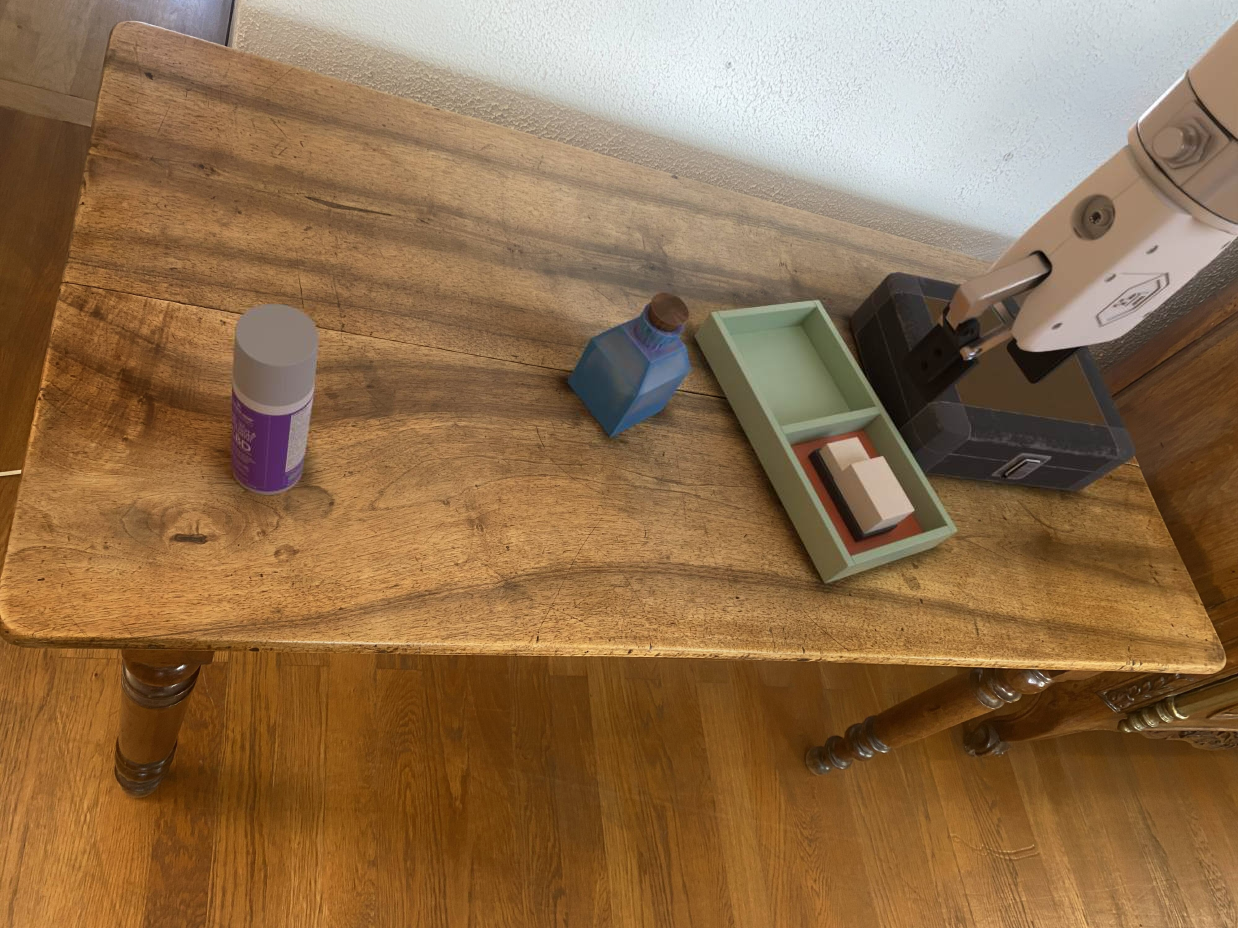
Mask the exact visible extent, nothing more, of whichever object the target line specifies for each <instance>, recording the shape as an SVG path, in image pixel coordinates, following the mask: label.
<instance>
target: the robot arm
mask: <svg viewBox="0 0 1238 928" xmlns="http://www.w3.org/2000/svg"><path fill="white" fill-rule="evenodd" d="M1126 138H1127V143H1128V144H1126V145H1124V146H1123V147H1122V148H1120V149H1119V150H1117V152H1116V153H1114V154H1113V155H1112V156H1111V157H1109V158H1108V159H1107V160H1106V161H1104V162H1103V163H1101V165H1100V166H1098V167H1097V168H1096V169H1095V170H1093V171H1092V172H1091V173H1090V174H1089V175H1088V176H1086V177H1085V178H1084V179H1083V180H1081V181H1080V182H1079V183H1078V184H1077V185H1076V186H1075V187H1074V188H1072V189H1071V190H1070V191H1069V192H1068V193H1067V194H1065V195H1064V196H1063V197H1062V198H1061V199H1059V201H1058V202H1056V203H1055V204H1054V205H1053V206H1052V207H1051V208H1049V210H1048V211H1047V212H1045V213H1044V214H1043V215H1042V216H1041V217H1040V218H1039V219H1038V220H1037V221H1036V222H1034V223H1033V224H1032V225H1031V226H1030V227H1029V228H1028V229H1027V230H1025V232H1024V233H1023V234H1021V236H1019V238H1017V239H1016V241H1014V242H1013V244H1012V245H1011V246H1009V247H1008V248H1007V249H1006V251H1004V252H1003V253H1002V254H1001V255H1000V257H998V259H997V260H996V261H995V262H994V263H993V264H992V265H991V267H990V268H989V269H988V270H987V271H986V273H985V274H982V275H979V276H976V277H975V278H972V279H968V280H967V281H965V282H964V283H962V284H960V285H961V286H960V287H959V288H958V289H957V291H956V293H955V295H954V297H953V299H952V301H950V302H949V303H948V306H946V308H945V309H944V310H943V312H942V313H943V314H942V315H941V316H940V317H939V319H938V322H939V323H938V324H937V325H936V326H935V327H934V328H933V329H932V330H931V331H930V332H929V333H928V334H927V335H926V336H925V337H924V338H923V339H922V340H921V341H920V342H919V343H918V344H917V345H916V346H915V347H914V348H913V349H912V350H911V351H910V352H909V353H908V354H907V355H906V356H905V357H904V358H903V360H902V365H903V367H904V369H905V370H906V372H907V373H908V375H909V376H910V378H911V380H912V381H913V383H914V384H915V386H916V388H917V389H918V391H919V392H920V394H921V396H922V397H923V399H924V400H925V401H926V402H928V403H929V402H935V401H937V400H939V399H940V398H941V397H942V396H943V395H944V394H945V393H947V392H948V391H949V390H950V389H951V388H952V387H953V386H954V385H956V384H957V383H958V382H959V381H960V380H961V379H962V378H963V377H964V376H966V375H967V374H968V373H969V372H970V371H971V370H972V369H973V368H975V367H976V366H977V365H978V364H979V363H980V362H979V360H978V359H977V356H978V355H980V354H982V353H984V352H986V351H987V350H989V349H991V348H993V347H994V346H996V345H998V344H1000V343H1001V342H1003V341H1005V340H1007V339H1009V338H1010V337H1012V336H1014V337H1015V338H1013V339H1012V340H1011V341H1010V342H1009V343H1008V344H1007V351H1008V352H1009V354H1010V355H1011V357H1012V358H1013V360H1014V361H1015V363H1016V364H1017V365H1018V367H1019V368H1020V370H1021V371H1022V373H1023V374H1024V376H1025V377H1026V378H1027V380H1028V381H1029V382H1030V383H1032V384H1034V383H1040V382H1042V381H1043V380H1044V379H1045V378H1047V377H1048V376H1049V375H1050V374H1052V373H1053V372H1054V371H1055V370H1057V369H1058V368H1059V367H1060V366H1062V365H1063V364H1064V363H1065V362H1067V361H1068V360H1069V359H1070V358H1072V357H1073V356H1074V355H1075V354H1077V353H1078V352H1079V351H1080V350H1082V349H1083V348H1084V347H1085V345H1087V346H1089V345H1096V344H1097V345H1098V344H1101V343H1107V342H1111V341H1114V340H1116V339H1119V338H1121V337H1122V336H1124V335H1126V334H1127V333H1129V332H1130V331H1131V330H1132V329H1134V328H1135V327H1136V326H1137V325H1139V324H1140V323H1141V322H1142V321H1144V320H1145V319H1146V318H1147V317H1148V316H1149V315H1151V314H1152V313H1153V312H1154V311H1155V310H1157V309H1158V308H1159V307H1160V306H1161V305H1163V303H1165V302H1166V301H1167V300H1168V299H1169V298H1171V297H1172V296H1173V295H1174V294H1175V293H1176V292H1177V291H1179V290H1180V289H1182V288H1183V287H1184V286H1185V285H1186V284H1188V282H1190V280H1192V279H1193V278H1194V277H1195V276H1196V275H1197V274H1199V273H1200V272H1201V271H1202V270H1204V269H1205V268H1206V267H1207V266H1208V265H1209V264H1211V262H1212V261H1213V260H1215V259H1216V258H1217V257H1218V256H1219V255H1220V254H1222V252H1223V251H1224V250H1225V249H1226V248H1227V247H1228V246H1230V245H1231V243H1232V242H1233V241H1235V240H1236V239H1237V237H1238V19H1237V20H1236V21H1235V22H1234V23H1233V24H1232V25H1231V26H1230V27H1229V28H1228V29H1227V30H1226V31H1225V32H1224V33H1223V34H1222V35H1221V36H1220V37H1219V38H1218V39H1217V40H1216V41H1215V42H1214V43H1213V44H1212V45H1211V46H1210V47H1209V48H1208V49H1207V50H1206V51H1205V52H1204V53H1203V54H1202V55H1201V56H1200V57H1199V58H1198V59H1197V60H1196V61H1195V62H1194V63H1193V65H1192V66H1190V67H1189V68H1188V69H1187V70H1186V71H1185V72H1184V73H1183V74H1182V75H1181V76H1180V77H1179V78H1177V80H1176V81H1175V82H1174V83H1173V84H1171V86H1170V87H1168V89H1167V90H1166V91H1165V92H1164V93H1163V94H1162V95H1161V96H1160V97H1158V99H1157V100H1156V101H1155V102H1154V103H1153V104H1152V105H1151V106H1150V107H1149V108H1148V109H1147V110H1146V111H1145V112H1143V114H1142V115H1141V116H1140V117H1139V118H1137V120H1136V121H1135V122H1134V123H1133V124H1132V125H1131V126H1130V127H1129V128H1128V130H1127V136H1126ZM1010 297H1013V299H1014V300H1015V302H1016V303H1017V304H1018V306H1019V307H1020V311H1019V313H1018V315H1017V317H1016V318H1015V317H1014V316H1013V314H1012V313H1011V311H1010V310H1009V308H1008V307H1007V306H1006V304H1005V303H1004V301H1003V300H1006V299H1008V298H1010ZM987 308H990V310H991V311H992V313H993V314H994V316H995V317H996V318H997V320H998V321H999V323H1000V324H1001V325H999V326H997V327H995V328H994V329H992V330H990V331H988V332H987V333H985V334H983V335H981V336H980V337H979V335H980V323H979V322H978V320H977V318H978V317H979V316H981V315H982V314H983V312H984V311H985V310H986V309H987Z"/></svg>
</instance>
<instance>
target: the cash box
mask: <svg viewBox="0 0 1238 928" xmlns="http://www.w3.org/2000/svg"><path fill="white" fill-rule="evenodd" d="M961 285H962V284H958V283H954V282H948V281H944V280H940V279H935V278H929V277H925V276H921V275H917V274H911V273H906V272H902V271H896V272H891V273H889V274H887V275H886V276H885V278H884V279H883V280H882V281H881V282H880V283H879V284H878V286H877V287H876V288H875V289H874V290H873V291H872V292H871V293H870V294H869V295H868V297H867V298H866V299H865V300H863V302H862V303H861V304H860V306H859V307H858V308H857V309H856V310H855V311H854V312H853V313H852V315H851V321H850V326H851V329H852V332H853V336H854V338H855V342H856V346H857V349H858V353H859V356H860V359H861V363H862V366H863V369H864V372H865V375H866V376H865V377H866V379H867V381H868V382H869V384H870V386H871V387H872V389H873V391H874V392H875V394H876V396H877V397H878V399H879V401H880V402H881V404H882V405H883V407H884V409H885V410H886V412H887V414H888V415H889V417H890V419H891V420H892V422H893V424H894V425H895V427H896V429H897V430H898V432H899V434H900V435H901V437H902V439H903V440H904V442H905V444H906V445H907V447H908V449H909V450H910V452H911V454H912V455H913V457H914V459H915V460H916V462H917V464H918V465H919V467H920V469H921V470H922V472H923V474H924V475H929V476H938V477H948V478H956V479H965V480H973V481H983V482H993V483H1001V484H1011V485H1018V486H1027V487H1028V486H1029V487H1036V488H1037V487H1038V488H1045V489H1055V490H1062V491H1072V492H1077V491H1080V490H1082V489H1084V488H1086V487H1088V486H1090V485H1091V484H1093V483H1094V482H1097V481H1098V480H1099V479H1101V478H1103V477H1105V476H1106V475H1108V474H1110V473H1112V472H1113V471H1114V470H1116V469H1118V468H1119V467H1120V466H1122V465H1124V464H1125V463H1127V462H1129V461H1130V460H1132V459H1133V458H1134V457H1135V456H1136V448H1135V445H1134V442H1133V440H1132V438H1131V436H1130V434H1129V431H1128V430H1127V427H1126V425H1125V422H1124V421H1123V419H1122V417H1121V414H1120V412H1119V410H1118V407H1117V405H1116V404H1115V401H1114V399H1113V397H1112V395H1111V393H1110V391H1109V389H1108V386H1107V385H1106V381H1104V378H1103V375H1102V373H1101V371H1100V370H1099V367H1098V364H1097V362H1096V361H1095V358H1094V357H1093V353H1092V352H1091V350H1090V348H1089V345H1085V347H1084V348H1083V349H1082V350H1080V351H1079V352H1078V353H1077V354H1075V355H1074V356H1073V357H1072V358H1070V359H1069V360H1068V361H1067V362H1065V363H1064V364H1063V365H1062V366H1060V367H1059V368H1058V369H1057V370H1055V371H1054V372H1053V373H1052V374H1050V375H1049V376H1048V377H1047V378H1045V379H1044V380H1043V381H1042V382H1040V383H1034V384H1032V383H1030V382H1029V381H1028V380H1027V378H1026V377H1025V376H1024V374H1023V373H1022V371H1021V370H1020V368H1019V367H1018V365H1017V364H1016V363H1015V361H1014V360H1013V358H1012V357H1011V355H1010V354H1009V352H1008V351H1007V344H1008V343H1009V342H1010V341H1011V340H1012V339H1013V338H1015V337H1014V336H1012V337H1010V338H1009V339H1007V340H1005V341H1003V342H1001V343H1000V344H998V345H996V346H994V347H993V348H991V349H989V350H987V351H986V352H984V353H982V354H980V355H978V356H977V359H978V360H979V362H980V363H979V364H978V365H977V366H976V367H975V368H973V369H972V370H971V371H970V372H969V373H968V374H967V375H966V376H964V377H963V378H962V379H961V380H960V381H959V382H958V383H957V384H956V385H954V386H953V387H952V388H951V389H950V390H949V391H948V392H947V393H945V394H944V395H943V396H942V397H941V398H940V399H939V400H937V401H935V402H929V403H928V402H926V401H925V400H924V399H923V397H922V396H921V394H920V392H919V391H918V389H917V388H916V386H915V384H914V383H913V381H912V380H911V378H910V376H909V375H908V373H907V372H906V370H905V369H904V367H903V365H902V360H903V358H904V357H905V356H906V355H907V354H908V353H909V352H910V351H911V350H912V349H913V348H914V347H915V346H916V345H917V344H918V343H919V342H920V341H921V340H922V339H923V338H924V337H925V336H926V335H927V334H928V333H929V332H930V331H931V330H932V329H933V328H934V327H935V326H936V325H937V324H938V323H939V322H938V319H939V317H940V316H941V315H942V314H943V313H942V312H943V310H944V309H945V308H946V306H948V303H949V302H950V301H952V299H953V297H954V295H955V293H956V291H957V289H958V288H959V287H960V286H961ZM1003 301H1004V303H1005V304H1006V306H1007V307H1008V308H1009V310H1010V311H1011V313H1012V314H1013V316H1014V317H1015V318H1016V317H1017V315H1018V313H1019V311H1020V307H1019V306H1018V304H1017V303H1016V302H1015V300H1014V299H1013V297H1010V298H1008V299H1006V300H1003ZM977 320H978V322H979V323H980V335H979V337H980V336H981V335H983V334H985V333H987V332H988V331H990V330H992V329H994V328H995V327H997V326H999V325H1001V324H1000V323H999V321H998V320H997V318H996V317H995V316H994V314H993V313H992V311H991V310H990V308H987V309H986V310H985V311H984V312H983V314H982V315H981V316H979V317H978V318H977Z"/></svg>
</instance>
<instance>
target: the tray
mask: <svg viewBox="0 0 1238 928" xmlns="http://www.w3.org/2000/svg"><path fill="white" fill-rule="evenodd" d="M694 339H695V340H696V342H697V344H698V345H699V349H700V350H701V351H702V353H703V355H704V357H705V359H706V361H707V363H708V365H709V367H710V369H711V370H712V373H713V374H714V377H715V378H716V380H717V382H718V384H719V386H720V388H721V390H722V392H723V393H724V395H725V397H726V399H727V401H728V404H729V405H730V407H731V408H732V411H733V412H734V415H735V416H736V419H737V420H738V422H739V424H740V426H741V428H742V430H743V432H744V433H745V435H746V438H747V439H748V441H749V443H750V445H751V447H752V448H753V450H754V452H755V454H756V456H757V458H758V460H759V462H760V464H761V466H762V468H763V470H764V471H765V473H766V476H767V477H768V479H769V481H770V483H771V485H772V487H773V489H774V491H775V492H776V494H777V496H778V498H779V500H780V502H781V504H782V506H783V507H784V510H785V511H786V513H787V515H788V517H789V519H790V521H791V523H792V525H793V526H794V528H795V530H796V532H797V534H798V536H799V538H800V540H801V541H802V544H803V546H804V548H805V549H806V551H807V553H808V555H809V557H810V559H811V561H812V562H813V565H814V567H815V568H816V570H817V572H818V574H819V576H820V578H821V580H822V581H823V583H824V584H828V583H831V582H834V581H838V580H840V579H843V578H846V577H850V576H852V575H855V574H858V573H861V572H864V571H868V570H870V569H873V568H876V567H879V566H883V565H885V564H889V563H891V562H894V561H897V560H900V559H904V558H905V557H909V556H912V555H915V554H918V553H921V552H924V551H927V550H930V549H933V548H935V547H936V546H937V545H939V544H940V543H942V542H944V541H945V540H946V539H948V538H949V537H951V536H953V535H955V534H956V533H957V532H959V531H958V528H957V526H956V524H955V523H954V521H953V520H952V518H951V517H950V515H949V513H948V512H947V510H946V508H945V507H944V505H943V503H942V502H941V500H940V498H939V497H938V495H937V493H936V491H935V490H934V488H933V486H932V485H931V484H930V482H929V480H928V479H927V477H926V474H923V472H922V470H921V469H920V467H919V465H918V464H917V462H916V460H915V459H914V457H913V455H912V454H911V452H910V450H909V449H908V447H907V445H906V444H905V442H904V440H903V439H902V437H901V435H900V434H899V432H898V430H897V429H896V427H895V425H894V424H893V422H892V420H891V419H890V417H889V415H888V414H887V412H886V410H885V409H884V407H883V405H882V404H881V402H880V401H879V399H878V397H877V396H876V394H875V392H874V391H873V389H872V387H871V386H870V384H869V382H868V379H867V376H865V374H864V372H863V370H862V369H861V368H860V366H859V364H858V362H857V360H856V359H855V357H854V356H853V354H852V352H851V350H850V349H849V348H848V345H847V344H846V342H845V341H844V339H843V338H842V336H841V334H840V332H839V331H838V329H837V328H836V326H835V324H834V322H833V320H832V319H831V317H830V316H829V314H828V313H827V311H826V309H825V308H824V306H823V304H822V303H821V301H820V299H813V300H806V301H805V300H804V301H797V302H789V303H788V302H787V303H779V304H770V305H762V306H751V307H744V308H743V307H742V308H735V309H727V310H718V311H710V312H709V313H708V315H707V317H706V318H705V319H704V321H703V322H702V324H701V325H700V327H699V328H698V329H697V331H696V333H695V334H694ZM855 437H858V439H859V441H860V443H861V444H862V446H863V448H864V450H865V451H866V453H867V455H868V456H869V458H870V459H872V458H876V457H880V456H883V457H884V459H885V460H886V462H887V464H888V465H889V467H890V469H891V471H892V472H893V474H894V476H895V477H896V479H897V481H898V482H899V484H900V486H901V488H902V489H903V491H904V493H905V494H906V496H907V498H908V499H909V501H910V503H911V505H912V506H913V508H914V511H913V512H912V513H911V514H909V515H908V516H907V517H905V518H904V519H902V520H901V521H900V522H898V523H897V525H898V526H897V527H896V528H895V529H893V530H892V531H891V532H888V533H885V534H882V535H879V536H875V537H872V538H869V539H866V540H862V541H859V542H855V541H854V539H853V537H852V535H851V534H850V532H849V530H848V528H847V526H846V525H845V523H844V521H843V519H842V517H841V515H840V514H839V512H838V510H837V508H836V506H835V505H834V503H833V501H832V499H831V497H830V496H829V494H828V492H827V490H826V488H825V486H824V485H823V483H822V481H821V479H820V477H819V476H818V474H817V472H816V470H815V468H814V466H813V465H812V463H811V461H810V459H809V457H808V455H809V454H810V453H812V452H813V451H814V450H815V449H819V448H823V447H824V446H825V445H826V444H828V443H833V442H837V441H841V440H846V439H850V438H855Z"/></svg>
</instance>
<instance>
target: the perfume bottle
mask: <svg viewBox="0 0 1238 928" xmlns="http://www.w3.org/2000/svg"><path fill="white" fill-rule="evenodd" d="M689 318H690V311H689V308H688V306H687V305H686V303H685V302H684V300H682V299H681V298H680V297H678V296H677V295H675V294H673V293H671V292H658V293H656V294H654V295H653V297H652V298H651V300H650V302H649V303H647V304H646V305H645V307H644V308H643V309H642V311H641V313H640V315H639V316H636V317H634V318H632V319H630V320H627V321H625V322H622V323H621V324H618V325H616V326H614V327H611V328H610V329H607V330H606V331H603V332H600V333H599V334H597V335H595V336H592V337H590V339H589V340H588V342H587V345H586V346H585V348H584V350H583V352H582V354H581V355H580V358H579V360H578V361H577V363H576V365H575V367H574V369H573V371H572V372H571V374H570V376H569V378H568V380H567V381H566V382H567V384H568V385H569V387H570V388H571V389H572V390H573V392H574V393H575V394H576V396H577V397H578V398H579V400H580V401H581V403H582V404H584V406H585V407H586V408H587V410H588V411H589V412H590V413H591V415H592V416H593V418H594V419H595V420H596V421H597V422H598V424H599V425H600V426H601V427H602V429H603V430H604V432H605V433H606V435H608V437H609V438H612V437H614V436H616V435H618V434H620V433H621V432H624V431H626V430H628V429H629V428H631V427H633V426H636V425H637V424H639V423H641V422H643V421H645V420H647V419H649V418H650V417H652V416H654V415H656V414H658V413H660V412H662V410H663V409H664V408H665V406H666V405H667V404H668V403H669V401H670V399H671V398H672V396H673V395H674V394H675V392H676V391H677V389H678V388H679V387H680V385H681V384H682V382H683V381H684V380H685V379H686V377H687V376H688V374H689V373H690V372H691V366H690V361H689V356H688V350H687V345H686V344H685V343H684V342H683V341H682V340H681V338H680V335H681V334H682V332H683V331H684V329H685V324H686V323H687V322H688V320H689Z"/></svg>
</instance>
